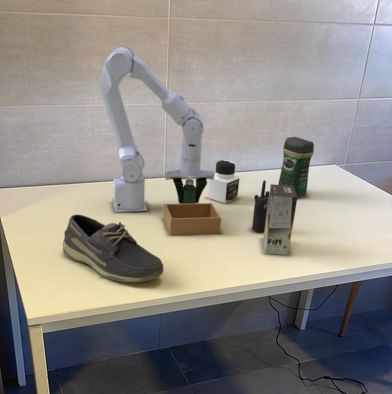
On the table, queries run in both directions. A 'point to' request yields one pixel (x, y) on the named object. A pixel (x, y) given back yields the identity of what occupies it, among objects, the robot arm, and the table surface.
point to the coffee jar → (296, 164)
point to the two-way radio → (260, 210)
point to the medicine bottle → (224, 182)
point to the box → (192, 219)
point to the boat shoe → (109, 250)
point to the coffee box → (279, 219)
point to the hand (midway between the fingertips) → (188, 202)
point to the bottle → (189, 192)
